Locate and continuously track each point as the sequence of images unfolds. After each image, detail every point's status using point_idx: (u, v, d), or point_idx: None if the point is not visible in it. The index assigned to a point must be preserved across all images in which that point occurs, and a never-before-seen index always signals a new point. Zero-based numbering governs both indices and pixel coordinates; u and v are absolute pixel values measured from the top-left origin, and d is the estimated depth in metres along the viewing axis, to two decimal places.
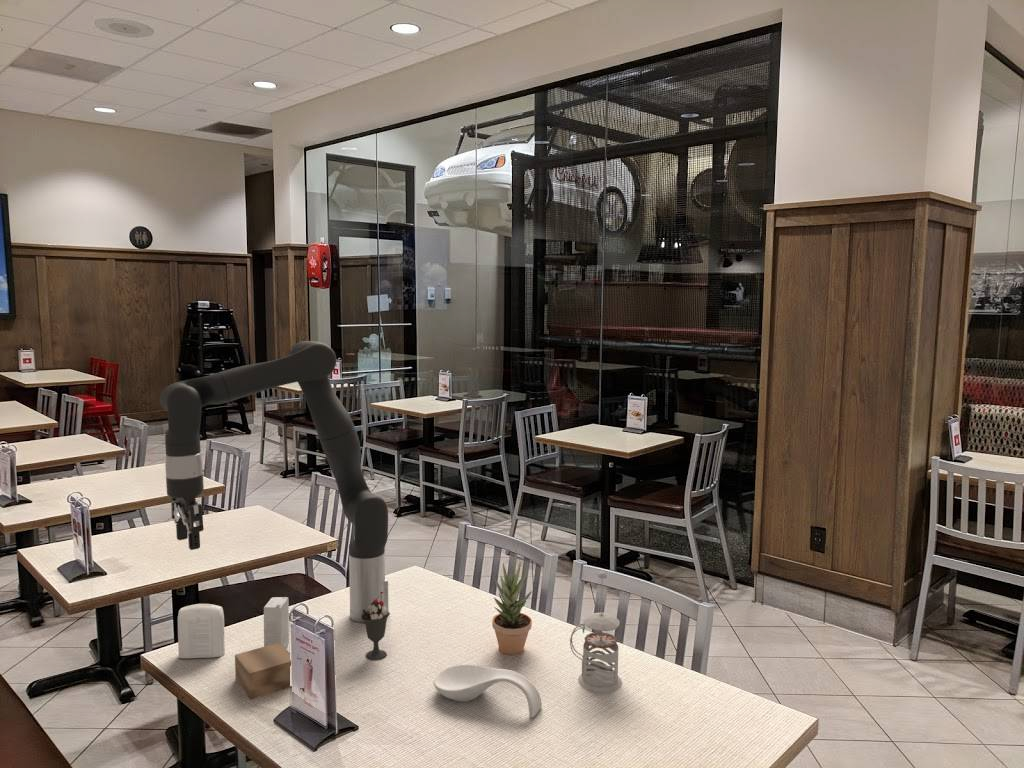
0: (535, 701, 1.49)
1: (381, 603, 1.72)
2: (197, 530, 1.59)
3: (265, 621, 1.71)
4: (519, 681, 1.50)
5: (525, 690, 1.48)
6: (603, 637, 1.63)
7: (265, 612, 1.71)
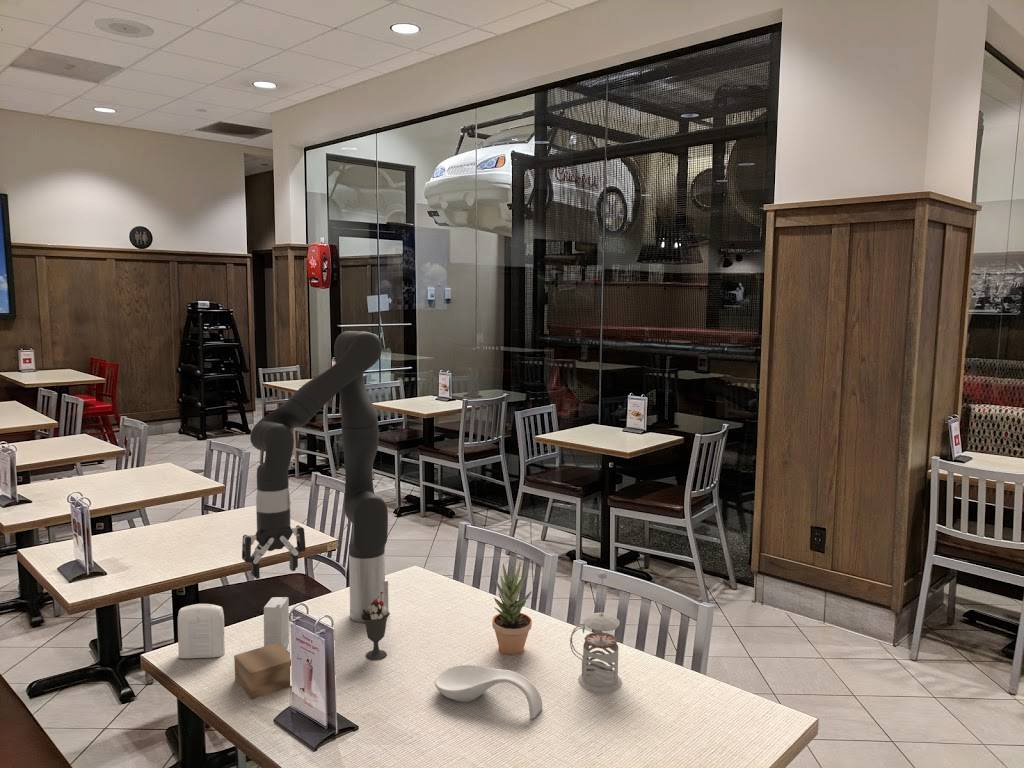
0: (536, 702, 1.49)
1: (381, 603, 1.72)
2: None
3: (265, 621, 1.71)
4: (520, 682, 1.50)
5: (526, 691, 1.48)
6: (603, 637, 1.63)
7: (265, 612, 1.71)
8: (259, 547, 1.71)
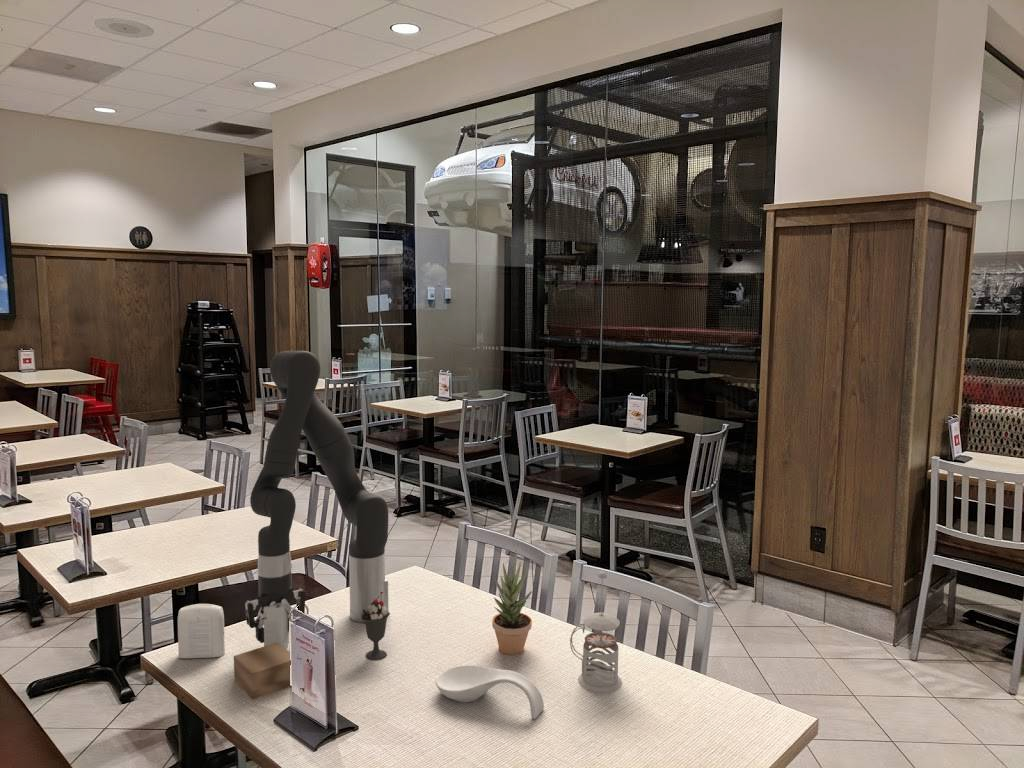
0: (537, 702, 1.49)
1: (381, 603, 1.72)
2: None
3: (265, 621, 1.71)
4: (521, 682, 1.50)
5: (527, 691, 1.48)
6: (603, 637, 1.63)
7: None
8: (262, 611, 1.73)
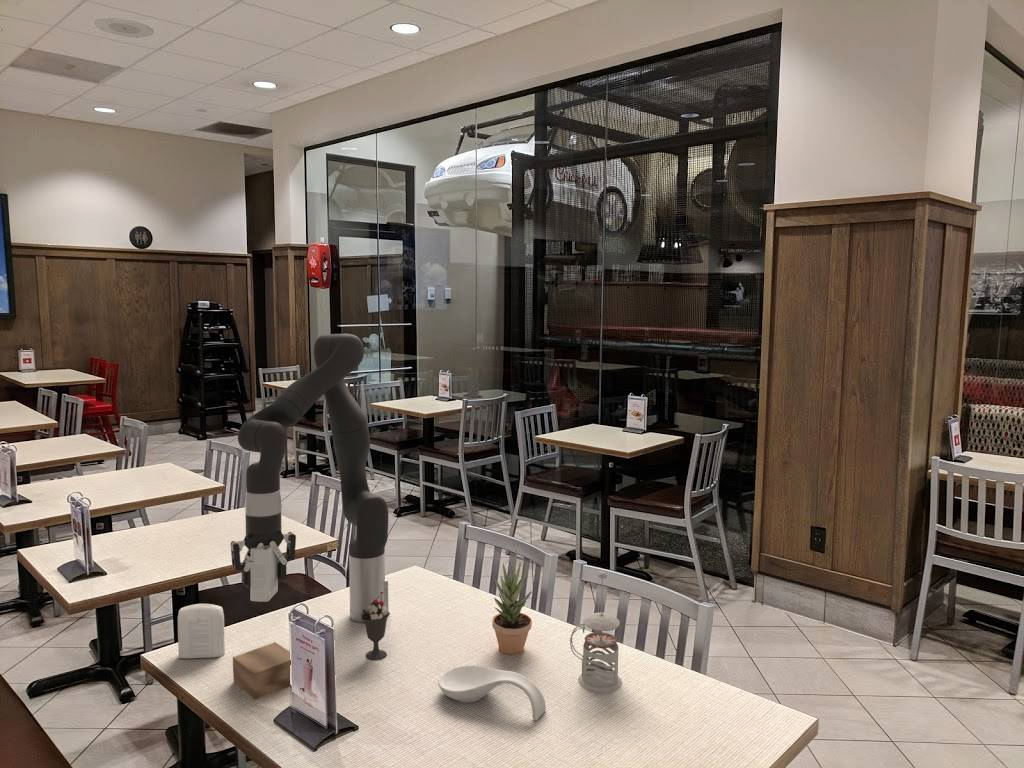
0: (539, 704, 1.48)
1: (381, 603, 1.72)
2: None
3: (252, 564, 1.60)
4: (523, 683, 1.49)
5: (529, 693, 1.47)
6: (603, 637, 1.63)
7: None
8: (249, 553, 1.62)
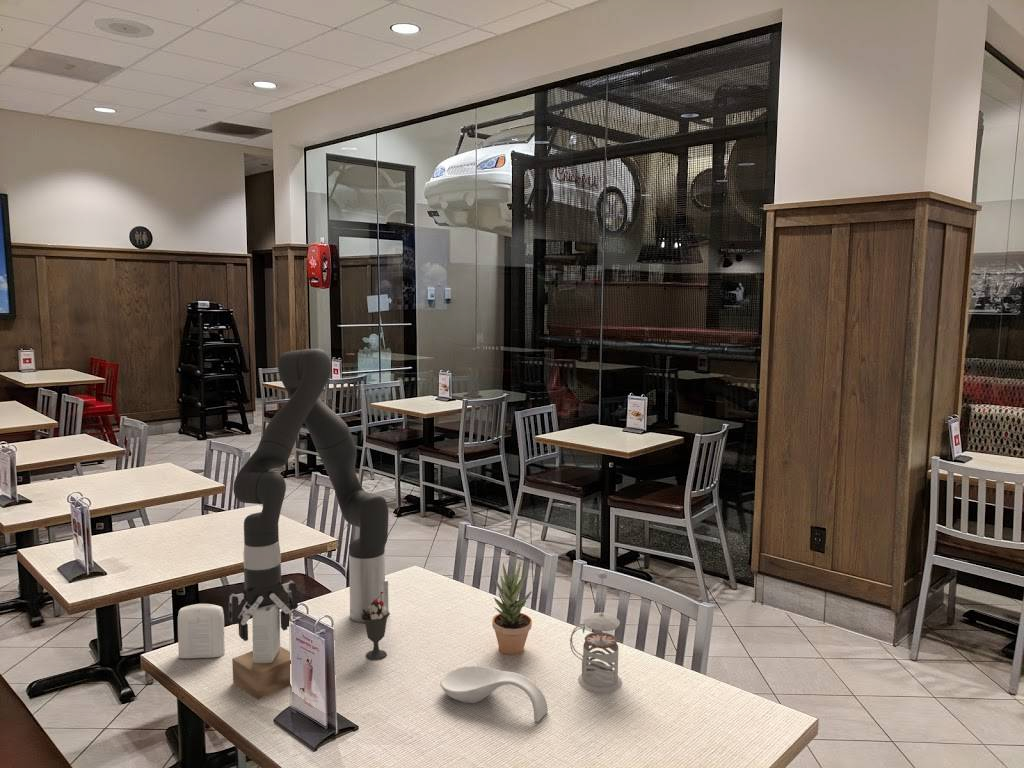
0: (540, 705, 1.48)
1: (381, 603, 1.72)
2: None
3: (254, 625, 1.56)
4: (525, 684, 1.49)
5: (530, 694, 1.47)
6: (603, 637, 1.63)
7: (254, 615, 1.56)
8: (247, 606, 1.58)
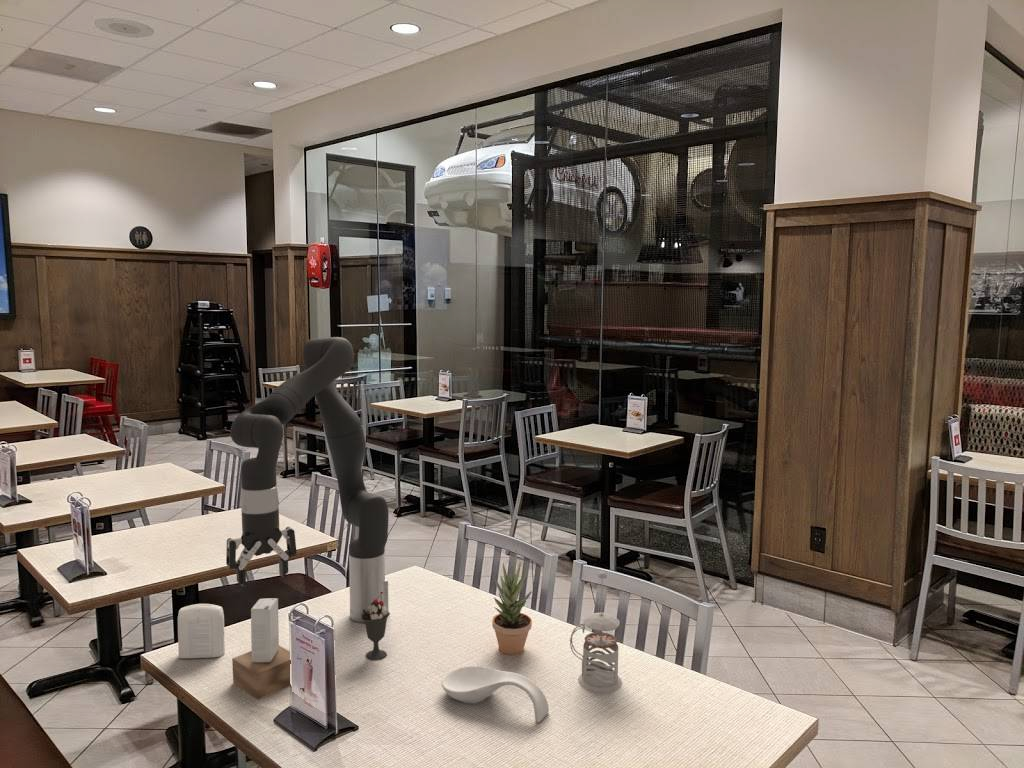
0: (541, 706, 1.47)
1: (381, 603, 1.72)
2: None
3: (253, 624, 1.56)
4: (526, 685, 1.48)
5: (531, 694, 1.47)
6: (603, 637, 1.63)
7: (253, 614, 1.56)
8: (245, 551, 1.56)
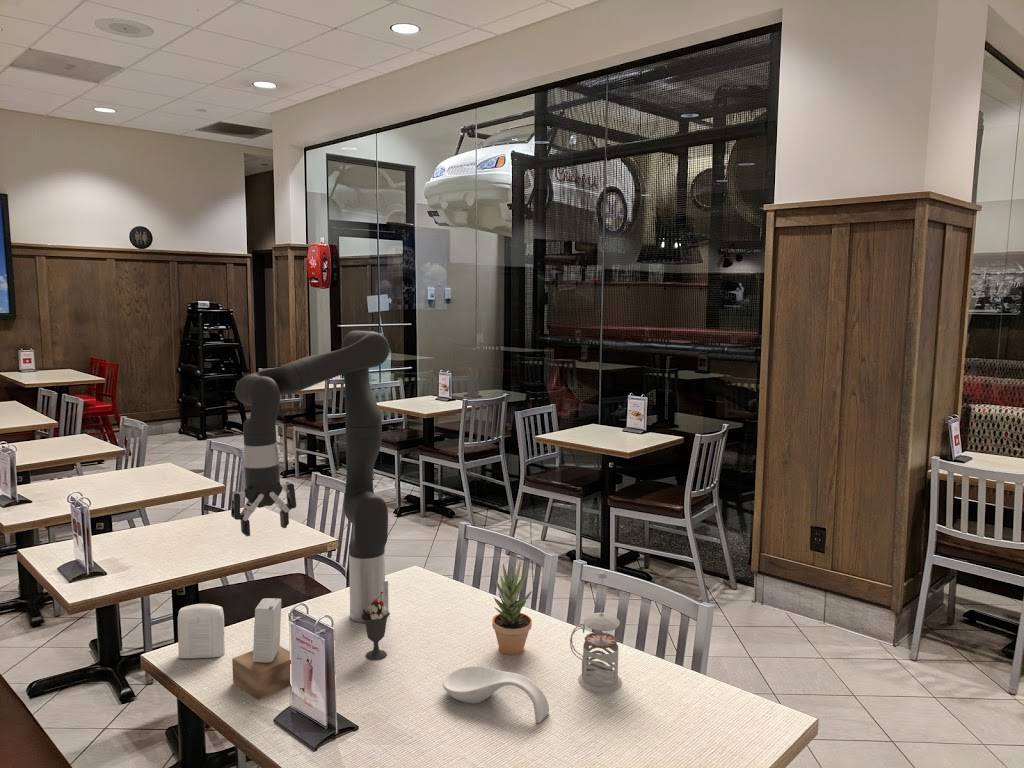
0: (541, 706, 1.47)
1: (381, 603, 1.72)
2: None
3: (256, 624, 1.56)
4: (526, 685, 1.48)
5: (531, 695, 1.47)
6: (603, 637, 1.63)
7: (256, 614, 1.56)
8: (248, 504, 1.67)
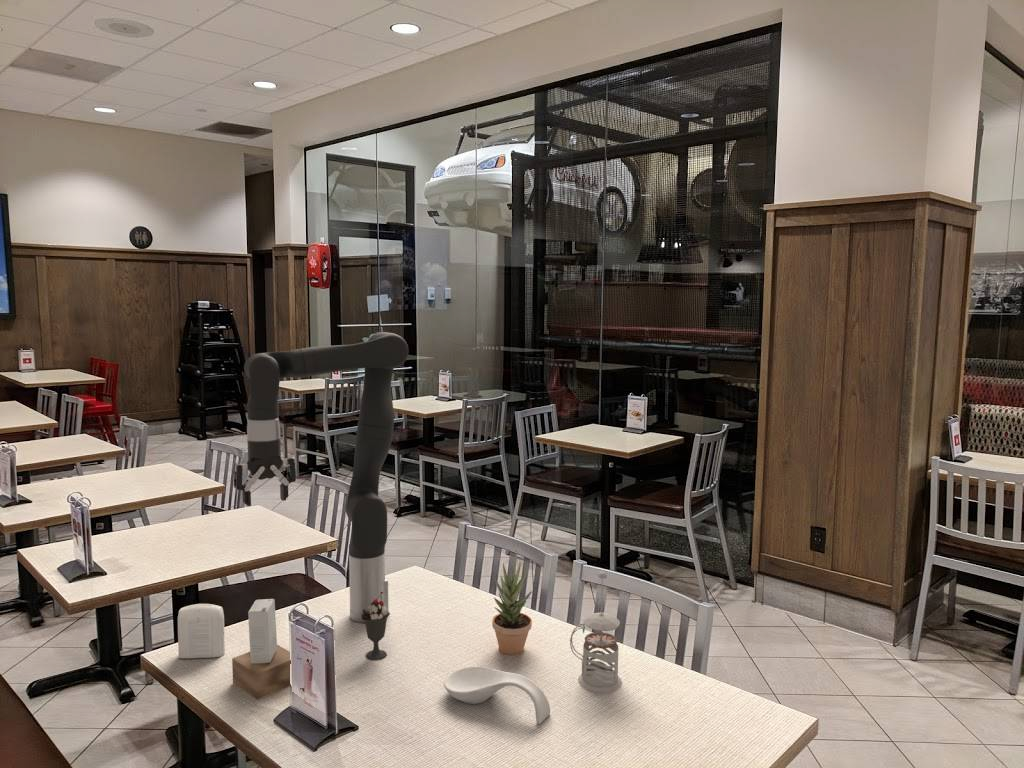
0: (543, 707, 1.47)
1: (381, 603, 1.72)
2: None
3: (250, 626, 1.56)
4: (527, 686, 1.48)
5: (532, 695, 1.46)
6: (603, 637, 1.63)
7: (250, 617, 1.55)
8: (250, 476, 1.77)
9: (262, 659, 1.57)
